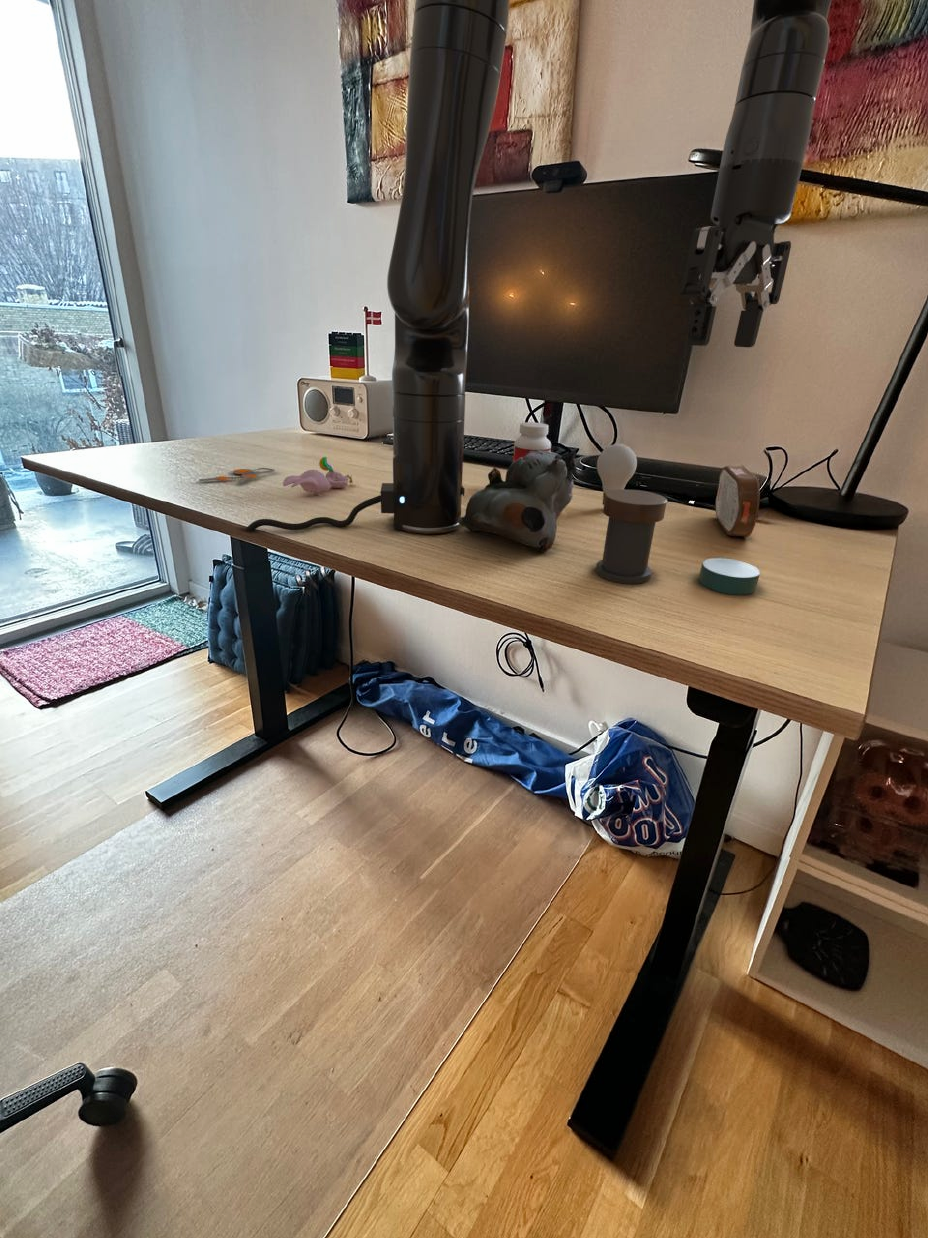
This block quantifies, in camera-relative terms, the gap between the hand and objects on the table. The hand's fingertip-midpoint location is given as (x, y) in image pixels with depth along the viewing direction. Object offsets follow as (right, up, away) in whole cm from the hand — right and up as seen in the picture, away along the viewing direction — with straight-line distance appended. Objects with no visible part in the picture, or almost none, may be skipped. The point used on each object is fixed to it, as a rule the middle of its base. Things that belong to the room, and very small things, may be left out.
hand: (721, 346), depth 64 cm
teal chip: (+1, -26, +1) cm, 26 cm away
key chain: (-68, -6, +37) cm, 77 cm away
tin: (+10, -17, +21) cm, 29 cm away
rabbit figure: (-52, -10, +29) cm, 61 cm away
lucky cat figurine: (-22, -20, +12) cm, 32 cm away
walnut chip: (-10, -19, -1) cm, 21 cm away
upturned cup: (-10, -25, +3) cm, 27 cm away
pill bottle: (-17, -8, +36) cm, 41 cm away
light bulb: (-5, -13, +27) cm, 31 cm away
